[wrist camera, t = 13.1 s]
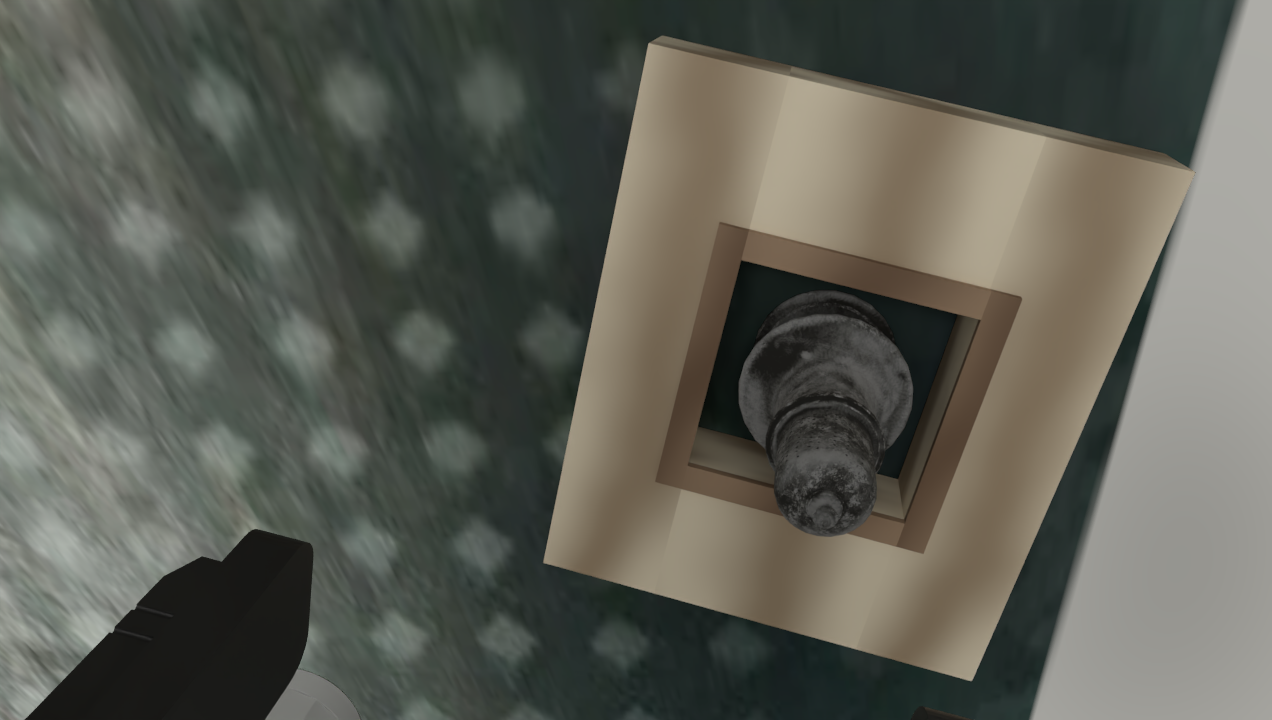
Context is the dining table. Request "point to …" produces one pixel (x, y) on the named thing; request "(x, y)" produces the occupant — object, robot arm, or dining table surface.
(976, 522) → the birch frame
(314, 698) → the cup
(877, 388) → the dark grey tall piece
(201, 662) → the robot arm
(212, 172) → the dining table surface
